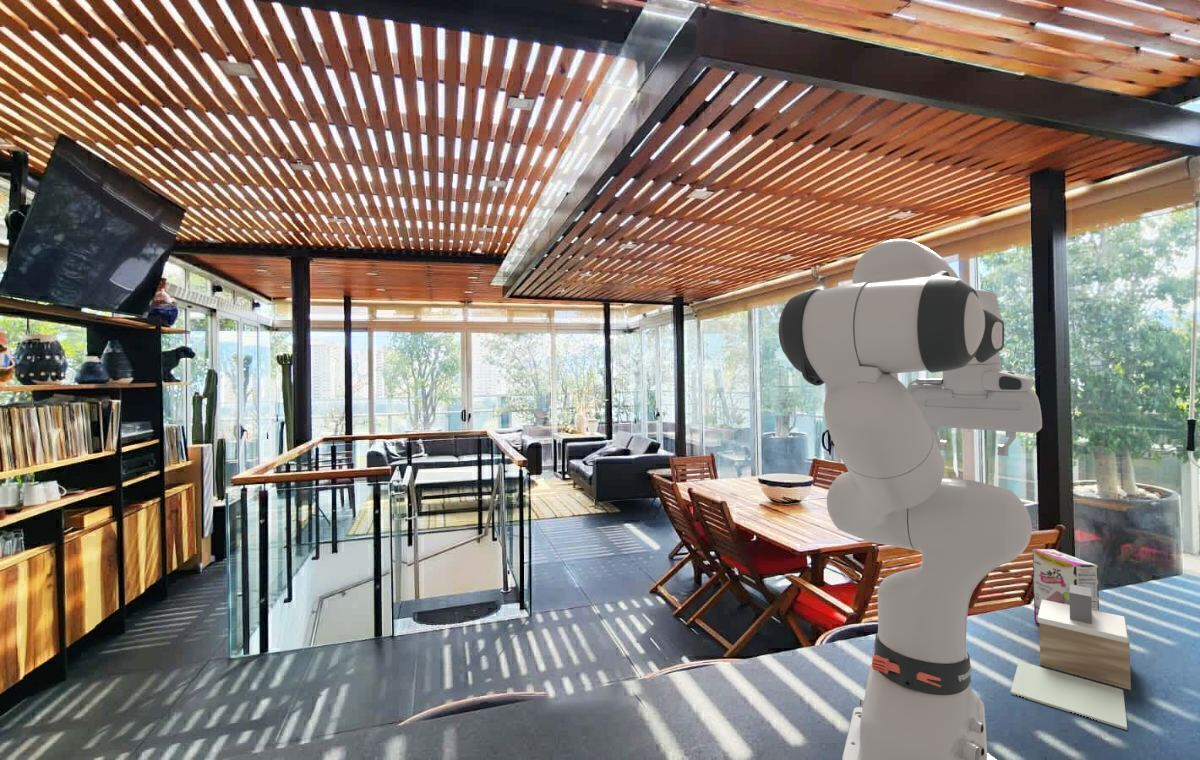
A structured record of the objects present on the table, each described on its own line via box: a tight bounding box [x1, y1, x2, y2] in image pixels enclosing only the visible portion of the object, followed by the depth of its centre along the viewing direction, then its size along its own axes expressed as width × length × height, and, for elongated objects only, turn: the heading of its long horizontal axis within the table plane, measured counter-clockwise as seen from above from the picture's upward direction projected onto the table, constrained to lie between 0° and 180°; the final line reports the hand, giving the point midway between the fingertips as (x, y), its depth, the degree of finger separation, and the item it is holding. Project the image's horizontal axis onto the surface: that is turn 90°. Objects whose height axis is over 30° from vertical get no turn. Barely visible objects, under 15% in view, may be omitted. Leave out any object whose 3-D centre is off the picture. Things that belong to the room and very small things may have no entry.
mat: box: [1010, 660, 1128, 731], centre depth 89 cm, size 14×14×1 cm
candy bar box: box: [1032, 548, 1100, 624], centre depth 112 cm, size 11×5×16 cm, turn 179°
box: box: [1038, 621, 1132, 691], centre depth 99 cm, size 12×12×8 cm
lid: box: [1037, 584, 1128, 643], centre depth 99 cm, size 12×12×8 cm
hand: (971, 452), depth 97 cm, fingers open, 8 cm apart
